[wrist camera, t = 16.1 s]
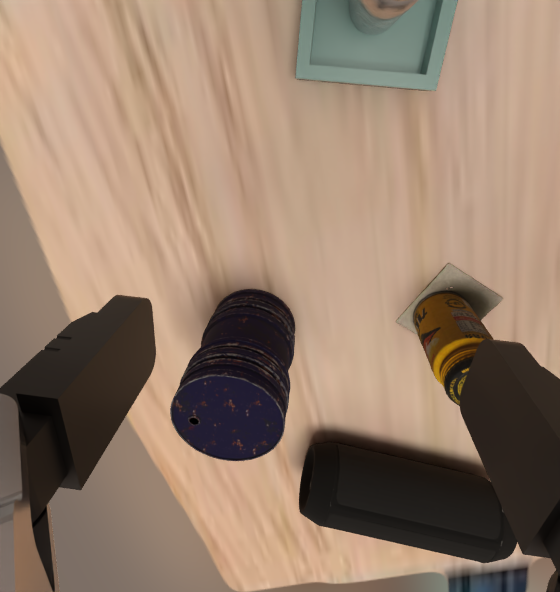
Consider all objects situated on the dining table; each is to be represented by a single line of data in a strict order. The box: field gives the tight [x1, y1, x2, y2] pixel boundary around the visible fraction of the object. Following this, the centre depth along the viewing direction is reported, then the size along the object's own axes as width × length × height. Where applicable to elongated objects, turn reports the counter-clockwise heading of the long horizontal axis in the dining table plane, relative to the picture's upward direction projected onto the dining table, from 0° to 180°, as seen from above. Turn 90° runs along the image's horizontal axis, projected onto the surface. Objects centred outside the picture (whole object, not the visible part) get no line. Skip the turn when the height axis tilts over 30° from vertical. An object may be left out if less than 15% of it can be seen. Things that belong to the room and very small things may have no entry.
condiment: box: [396, 263, 503, 406], centre depth 37 cm, size 7×8×12 cm
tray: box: [296, 0, 458, 91], centre depth 29 cm, size 11×11×3 cm
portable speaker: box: [299, 442, 517, 563], centre depth 50 cm, size 26×10×10 cm, turn 78°
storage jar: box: [170, 289, 295, 461], centre depth 39 cm, size 10×10×15 cm
